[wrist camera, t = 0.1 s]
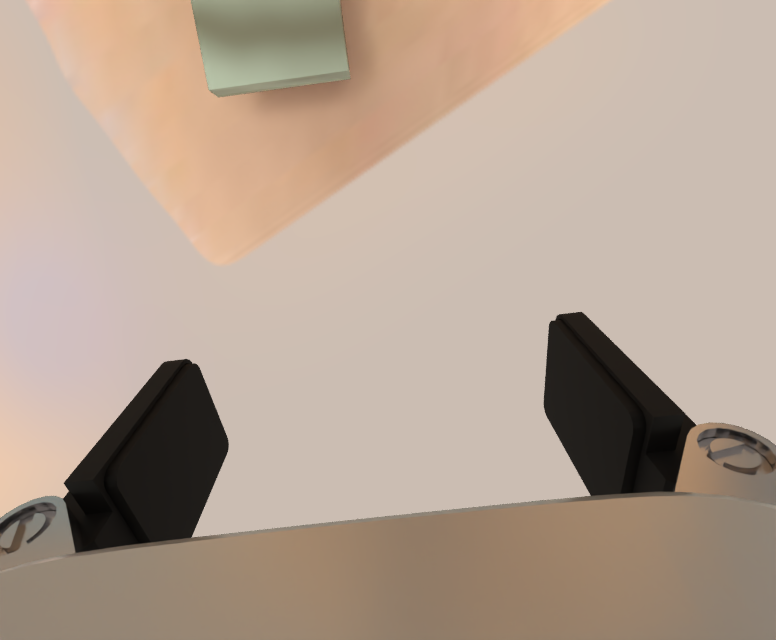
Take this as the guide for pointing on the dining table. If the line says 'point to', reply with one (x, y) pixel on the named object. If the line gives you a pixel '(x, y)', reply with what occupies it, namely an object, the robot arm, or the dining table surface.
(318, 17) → the balance beam
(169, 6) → the dining table surface
